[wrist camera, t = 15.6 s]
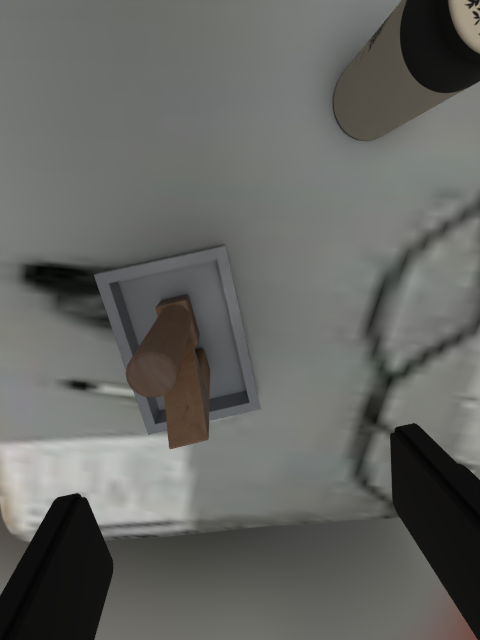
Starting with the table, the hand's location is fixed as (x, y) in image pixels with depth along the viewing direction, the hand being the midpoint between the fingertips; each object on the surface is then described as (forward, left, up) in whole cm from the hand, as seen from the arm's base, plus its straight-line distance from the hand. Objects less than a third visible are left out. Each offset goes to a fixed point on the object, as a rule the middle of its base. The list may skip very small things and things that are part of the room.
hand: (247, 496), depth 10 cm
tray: (+4, -6, -31) cm, 32 cm away
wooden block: (+4, -6, -31) cm, 31 cm away
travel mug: (-18, +20, -32) cm, 42 cm away
